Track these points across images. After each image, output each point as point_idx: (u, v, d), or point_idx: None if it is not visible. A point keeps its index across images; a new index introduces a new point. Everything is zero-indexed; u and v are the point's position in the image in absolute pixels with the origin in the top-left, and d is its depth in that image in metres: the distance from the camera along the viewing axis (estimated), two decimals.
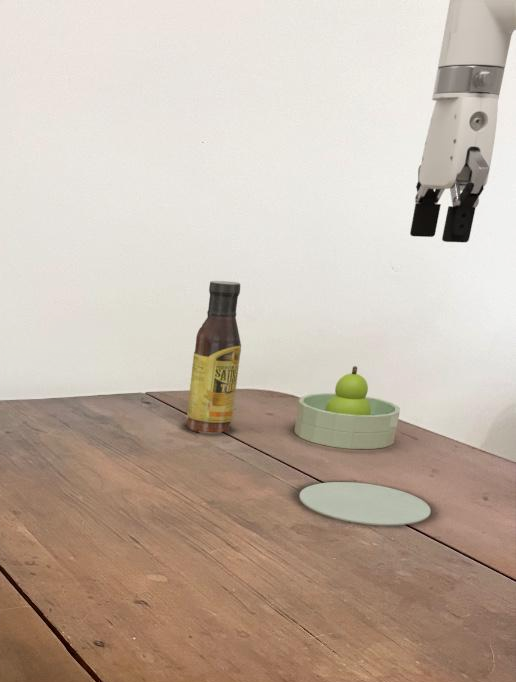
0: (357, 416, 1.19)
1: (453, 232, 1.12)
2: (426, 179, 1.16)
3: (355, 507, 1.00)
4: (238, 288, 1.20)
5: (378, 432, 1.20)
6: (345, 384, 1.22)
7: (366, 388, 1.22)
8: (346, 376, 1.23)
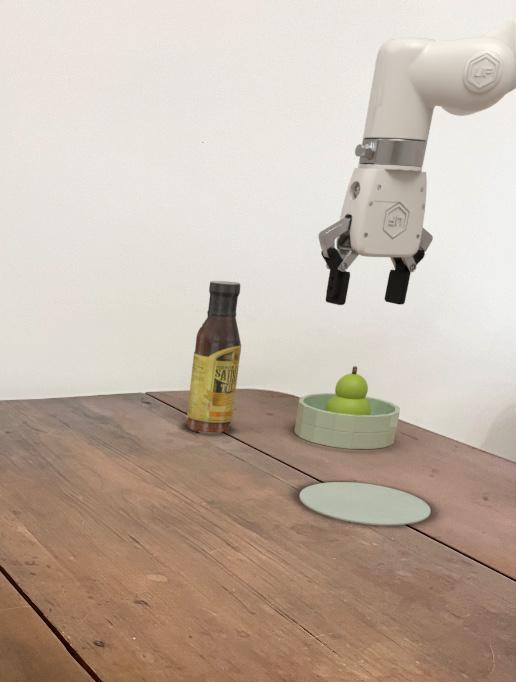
0: (357, 416, 1.19)
1: None
2: None
3: (355, 507, 1.00)
4: (238, 288, 1.20)
5: (378, 432, 1.20)
6: (345, 384, 1.22)
7: (366, 388, 1.22)
8: (346, 376, 1.23)
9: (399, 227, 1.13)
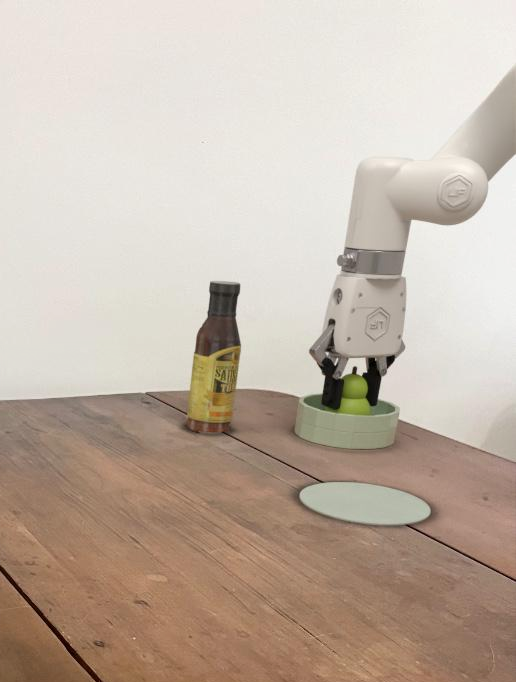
0: (357, 416, 1.19)
1: None
2: None
3: (355, 507, 1.00)
4: (238, 288, 1.20)
5: (378, 432, 1.20)
6: (345, 384, 1.22)
7: (366, 388, 1.22)
8: (346, 376, 1.23)
9: (381, 330, 1.18)
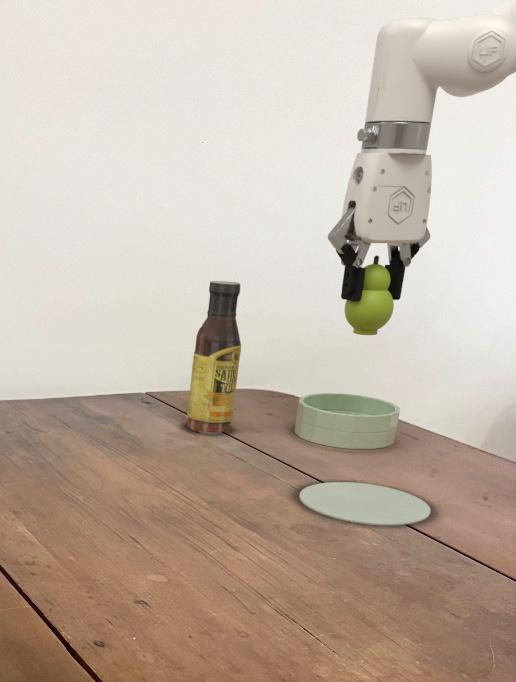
0: (357, 416, 1.19)
1: None
2: None
3: (355, 507, 1.00)
4: (238, 288, 1.20)
5: (378, 432, 1.20)
6: (366, 274, 1.15)
7: (389, 279, 1.15)
8: (367, 266, 1.15)
9: (404, 212, 1.11)
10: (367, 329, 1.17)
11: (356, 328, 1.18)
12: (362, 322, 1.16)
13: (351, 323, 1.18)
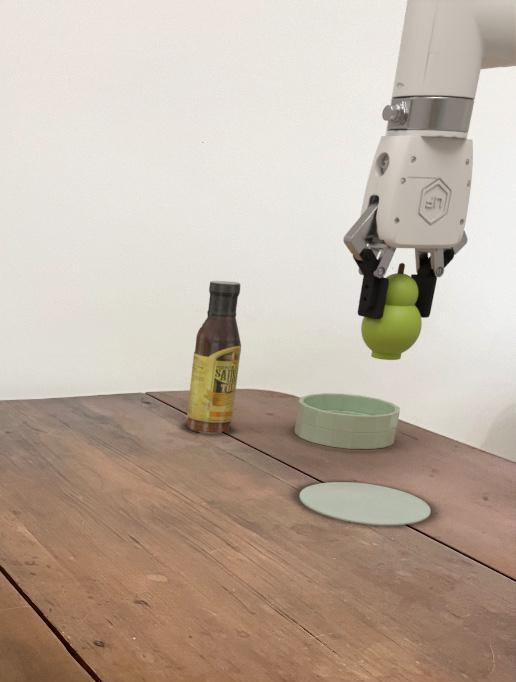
0: (357, 416, 1.19)
1: None
2: None
3: (355, 507, 1.00)
4: (238, 288, 1.20)
5: (378, 432, 1.20)
6: (389, 286, 0.93)
7: (416, 291, 0.94)
8: (390, 276, 0.94)
9: (439, 210, 0.90)
10: (389, 353, 0.96)
11: (375, 351, 0.97)
12: (383, 345, 0.95)
13: (369, 345, 0.96)
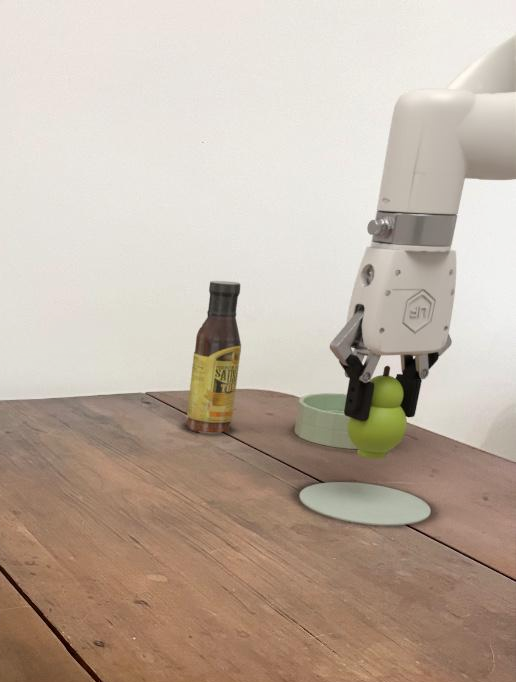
0: None
1: None
2: None
3: (355, 507, 1.00)
4: (238, 288, 1.20)
5: None
6: (375, 388, 0.95)
7: (402, 394, 0.95)
8: (376, 378, 0.96)
9: (423, 319, 0.91)
10: (375, 452, 0.98)
11: (361, 449, 0.98)
12: (369, 445, 0.97)
13: (355, 444, 0.98)
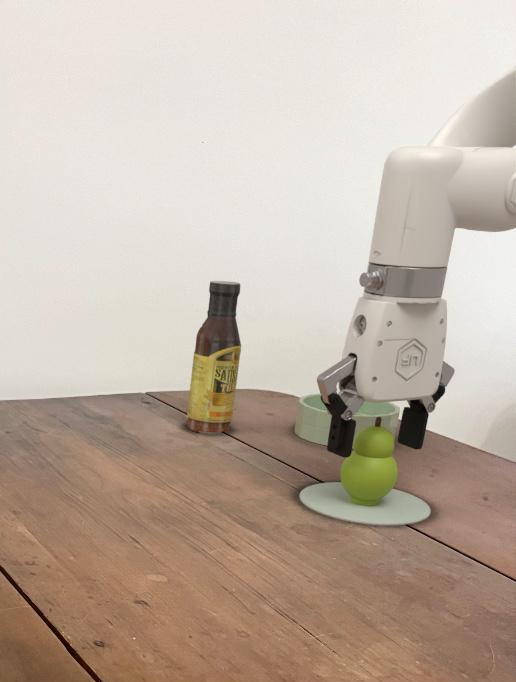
0: (357, 416, 1.19)
1: None
2: None
3: (355, 507, 1.00)
4: (238, 288, 1.20)
5: None
6: (366, 439, 0.97)
7: (393, 444, 0.98)
8: (368, 429, 0.98)
9: (415, 366, 0.93)
10: (366, 499, 1.00)
11: (354, 497, 1.01)
12: (361, 493, 0.99)
13: (348, 491, 1.00)
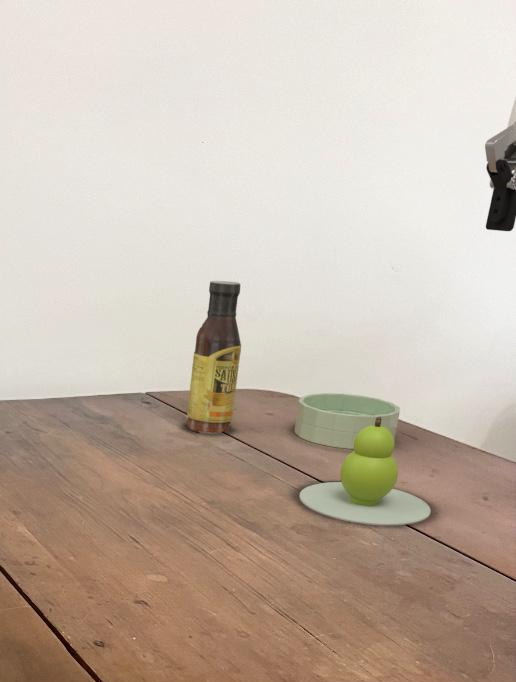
0: (357, 416, 1.19)
1: None
2: None
3: (355, 507, 1.00)
4: (238, 288, 1.20)
5: None
6: (366, 439, 0.97)
7: (393, 444, 0.98)
8: (368, 429, 0.98)
9: None
10: (366, 499, 1.00)
11: (354, 497, 1.01)
12: (361, 493, 0.99)
13: (348, 491, 1.00)
